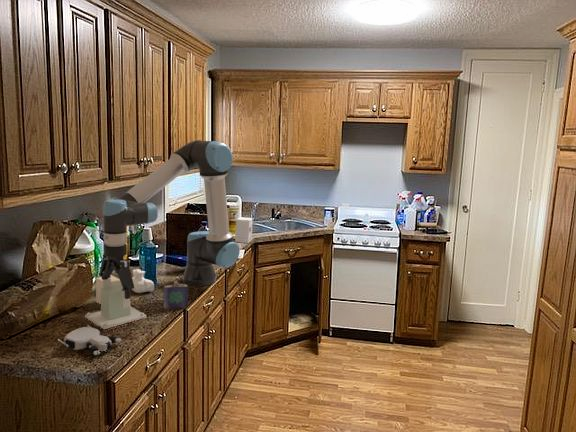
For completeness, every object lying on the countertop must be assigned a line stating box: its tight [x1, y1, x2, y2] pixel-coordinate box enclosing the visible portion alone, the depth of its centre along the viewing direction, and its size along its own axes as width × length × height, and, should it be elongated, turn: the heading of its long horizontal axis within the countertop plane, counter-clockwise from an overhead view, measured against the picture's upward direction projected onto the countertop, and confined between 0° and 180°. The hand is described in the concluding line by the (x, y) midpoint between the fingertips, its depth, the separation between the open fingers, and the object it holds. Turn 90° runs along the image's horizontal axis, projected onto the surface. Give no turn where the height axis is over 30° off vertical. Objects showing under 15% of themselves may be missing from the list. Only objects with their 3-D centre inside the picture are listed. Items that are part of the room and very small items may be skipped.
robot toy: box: [57, 324, 122, 356], centre depth 142 cm, size 12×4×15 cm
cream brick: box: [95, 274, 121, 305], centre depth 177 cm, size 6×8×10 cm
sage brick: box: [100, 284, 131, 320], centre depth 163 cm, size 8×6×10 cm
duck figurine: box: [131, 268, 155, 294], centre depth 191 cm, size 12×8×11 cm
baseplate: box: [84, 306, 147, 329], centre depth 164 cm, size 16×14×2 cm
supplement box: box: [234, 216, 254, 244], centre depth 292 cm, size 9×9×15 cm
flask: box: [162, 280, 189, 310], centre depth 177 cm, size 9×3×11 cm, turn 109°
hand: (116, 301), depth 164 cm, fingers open, 13 cm apart
